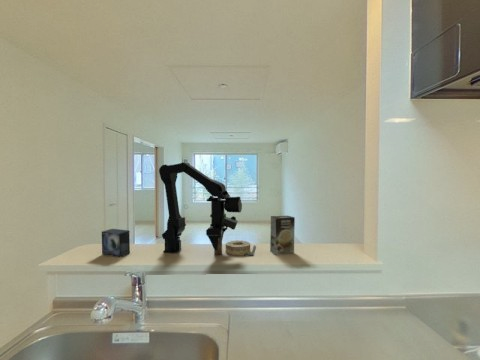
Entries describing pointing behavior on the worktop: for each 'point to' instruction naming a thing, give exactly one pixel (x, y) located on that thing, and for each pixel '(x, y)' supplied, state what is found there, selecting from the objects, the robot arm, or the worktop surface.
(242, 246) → the bead
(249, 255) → the gray l-shaped bar
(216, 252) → the brown cylinder
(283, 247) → the coffee box
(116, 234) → the small box
